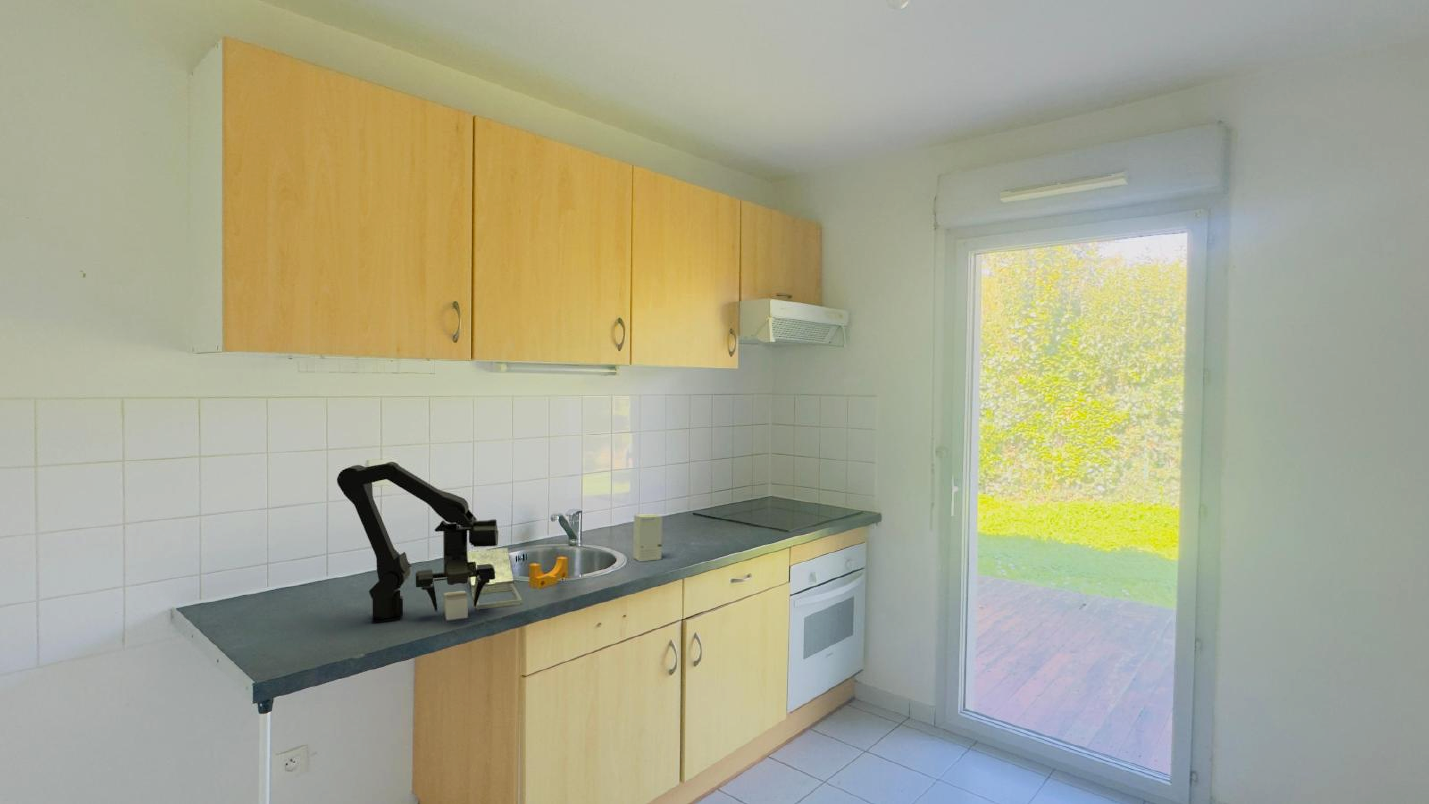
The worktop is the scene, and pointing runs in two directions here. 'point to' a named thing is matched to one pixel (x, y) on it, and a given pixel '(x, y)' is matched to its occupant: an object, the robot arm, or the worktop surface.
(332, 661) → the worktop surface
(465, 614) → the block
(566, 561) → the pipe clamp
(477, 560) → the case
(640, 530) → the skincare box
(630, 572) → the worktop surface
